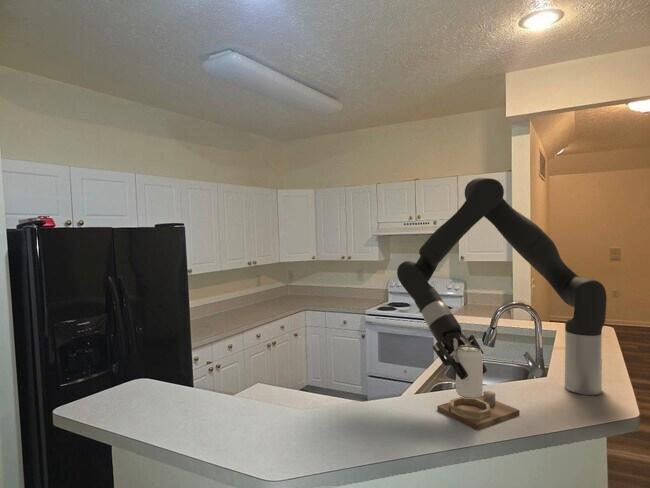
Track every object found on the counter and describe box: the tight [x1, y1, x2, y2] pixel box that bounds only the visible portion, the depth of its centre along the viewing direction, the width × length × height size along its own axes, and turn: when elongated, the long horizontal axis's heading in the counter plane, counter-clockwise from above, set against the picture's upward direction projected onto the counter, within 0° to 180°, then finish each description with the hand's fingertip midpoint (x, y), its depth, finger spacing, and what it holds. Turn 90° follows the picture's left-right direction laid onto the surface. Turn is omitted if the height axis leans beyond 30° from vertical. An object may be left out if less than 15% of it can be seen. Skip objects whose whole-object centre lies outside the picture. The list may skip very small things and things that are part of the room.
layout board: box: [436, 390, 520, 431], centre depth 111 cm, size 16×13×4 cm
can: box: [455, 345, 484, 398], centre depth 109 cm, size 6×6×12 cm
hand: (474, 375), depth 108 cm, fingers closed on can, 6 cm apart
